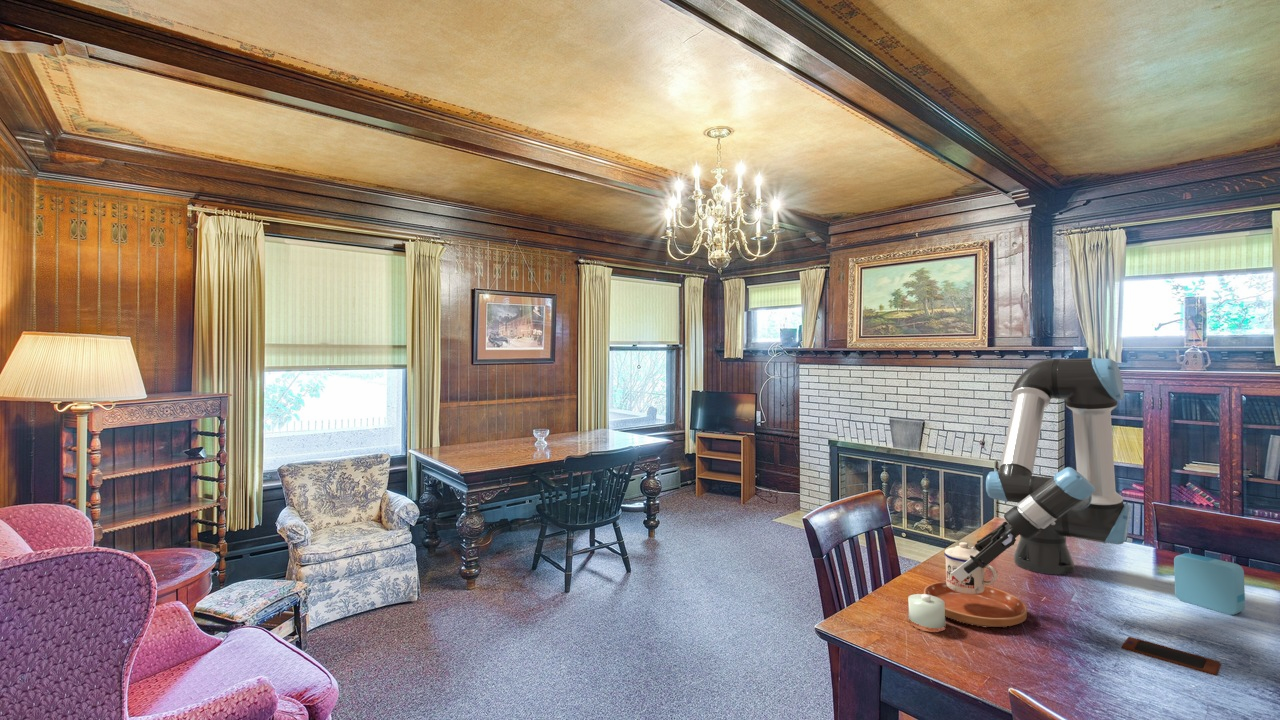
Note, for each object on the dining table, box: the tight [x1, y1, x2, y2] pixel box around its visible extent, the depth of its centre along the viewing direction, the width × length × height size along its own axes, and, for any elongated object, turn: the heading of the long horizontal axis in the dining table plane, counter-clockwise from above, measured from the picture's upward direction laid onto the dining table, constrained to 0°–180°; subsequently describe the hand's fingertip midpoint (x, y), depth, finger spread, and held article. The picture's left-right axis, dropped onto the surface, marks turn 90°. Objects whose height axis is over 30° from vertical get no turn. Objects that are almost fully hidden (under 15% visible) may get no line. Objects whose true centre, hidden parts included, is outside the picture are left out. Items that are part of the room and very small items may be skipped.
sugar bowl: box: [907, 593, 946, 628], centre depth 139 cm, size 8×8×7 cm
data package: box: [1173, 552, 1246, 616], centre depth 145 cm, size 12×4×12 cm, turn 24°
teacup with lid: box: [943, 541, 998, 594], centre depth 146 cm, size 12×9×12 cm
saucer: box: [923, 581, 1028, 628], centre depth 146 cm, size 23×23×4 cm
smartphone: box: [1120, 636, 1222, 677], centre depth 122 cm, size 7×1×15 cm
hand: (957, 571), depth 148 cm, fingers closed on teacup with lid, 9 cm apart
